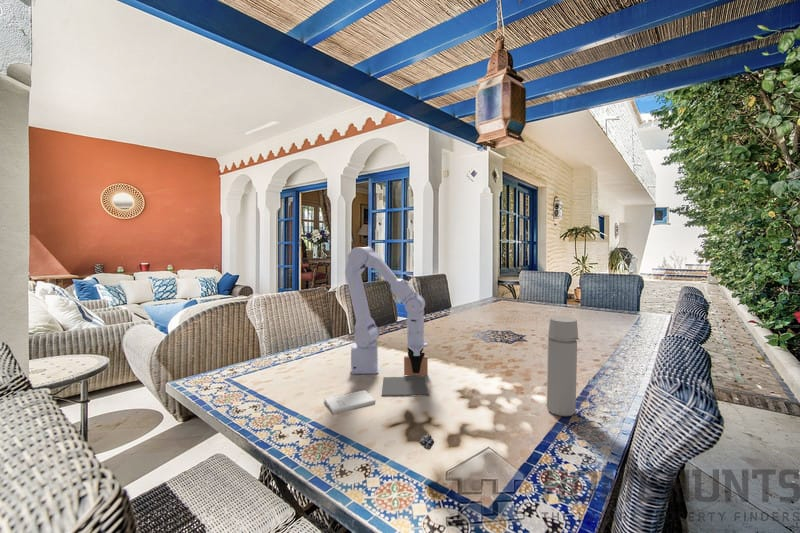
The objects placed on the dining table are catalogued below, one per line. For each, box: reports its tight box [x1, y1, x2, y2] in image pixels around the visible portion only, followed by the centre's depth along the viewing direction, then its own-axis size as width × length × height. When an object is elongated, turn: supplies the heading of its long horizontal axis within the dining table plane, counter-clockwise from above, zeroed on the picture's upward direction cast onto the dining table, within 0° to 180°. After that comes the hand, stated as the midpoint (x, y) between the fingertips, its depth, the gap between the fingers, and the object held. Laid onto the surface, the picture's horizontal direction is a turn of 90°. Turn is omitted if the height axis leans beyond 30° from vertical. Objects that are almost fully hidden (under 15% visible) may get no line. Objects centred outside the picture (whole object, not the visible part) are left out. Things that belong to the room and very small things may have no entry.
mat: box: [381, 376, 429, 397], centre depth 114 cm, size 14×14×1 cm
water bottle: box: [545, 316, 580, 417], centre depth 96 cm, size 9×8×25 cm
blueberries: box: [418, 433, 435, 450], centre depth 82 cm, size 7×8×2 cm
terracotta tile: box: [403, 355, 429, 375], centre depth 124 cm, size 8×2×6 cm, turn 90°
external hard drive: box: [324, 389, 376, 414], centre depth 103 cm, size 2×8×12 cm
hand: (415, 370), depth 124 cm, fingers open, 4 cm apart
